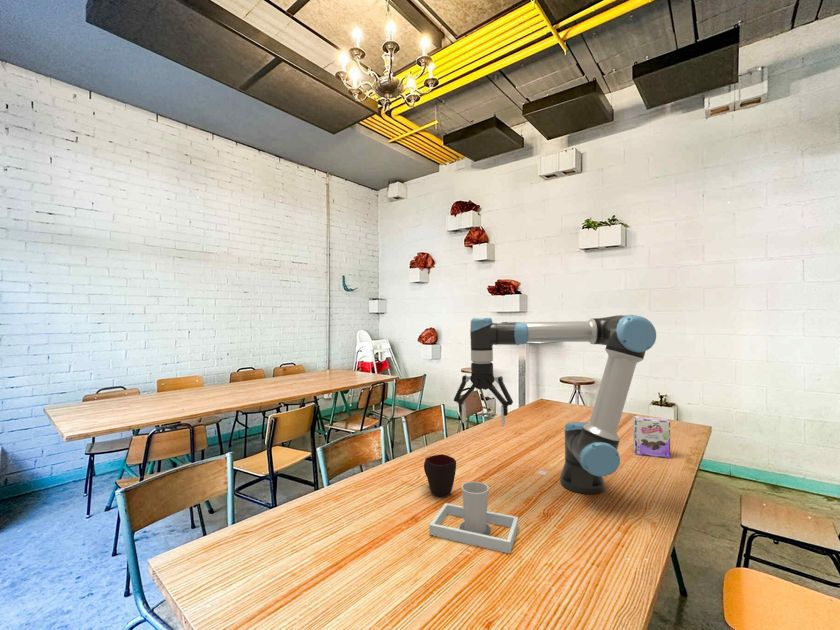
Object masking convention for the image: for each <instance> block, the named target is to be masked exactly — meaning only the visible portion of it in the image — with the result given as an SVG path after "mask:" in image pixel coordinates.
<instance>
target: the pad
mask: <svg viewBox="0 0 840 630" xmlns="http://www.w3.org/2000/svg"><path fill="white" fill-rule="evenodd" d="M459 529H460V530H465V521H463V522H462V523H461V524H460V526H459ZM491 530H492V529H491V527H490V525H489V523H486V531H485V532H484V533H482V534H483V535H488V536H491V533H492V532H491ZM465 531H466V530H465Z"/></svg>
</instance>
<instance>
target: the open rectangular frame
mask: <svg viewBox="0 0 840 630" xmlns="http://www.w3.org/2000/svg"><path fill="white" fill-rule="evenodd" d="M447 516H453V517H458V518H463V519H464V508H463V505H457V504H452V503H447V502H445V503H444V504H443V505H442V507H441V508H440V509H439V511H438V512H437V514H436V515H435V516H434V518H433V519H432V521H431V522H430V523H429V524H428V525H429V528H428V529H429V535H428V536H431V535H433V536H432V537H435V536H438V537H437V538H439V537H441V538H440V539H444V538H445V539H444V540H448V539H449V540H448V541H453V542H457V541H458V542H457V543H461V542H462V543H461V544H465V543H466V545H470V544H471V546H474V545H475V547H478V546H479V548H484V549H487V550H492V551H495V552H496V551H498V552H500V553H506V554H508V555H509V554H511V552H512V549H513V546H514V542H515V539H516V536H517V533H518V530H519V517H518V516H515V515H508V514H505V513H504V514H503V513H498V512H494V511H488V510H487V518H486V524H492V525H496V526H502V527H505V528H506V527H507V528H510V530H509V533H508V536H507V539H506V538H501V537H497V536H494V535H493V536H492V535H489V536H488V535H483V534H479V533H474V532H470V531H465V530H460V528H455V527H449V526H445V525H440V524H442V523H443V522H444V520H445V519H446V517H447Z"/></svg>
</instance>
